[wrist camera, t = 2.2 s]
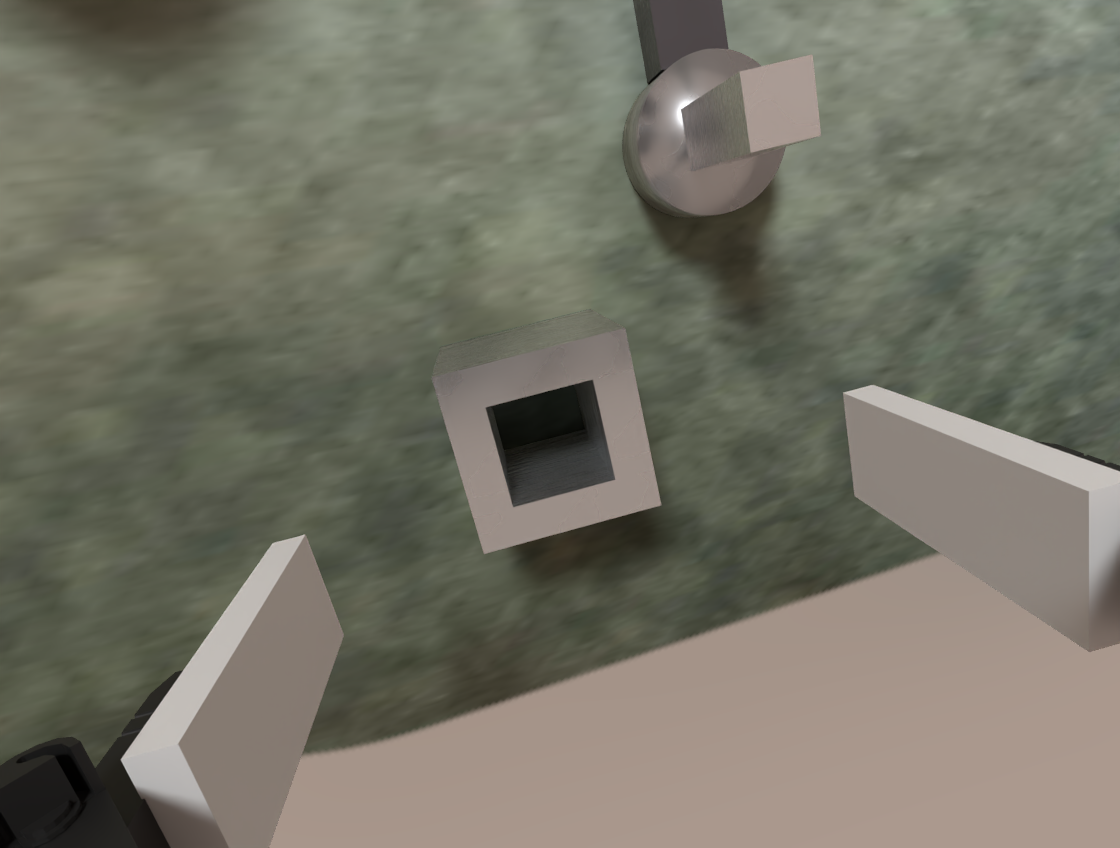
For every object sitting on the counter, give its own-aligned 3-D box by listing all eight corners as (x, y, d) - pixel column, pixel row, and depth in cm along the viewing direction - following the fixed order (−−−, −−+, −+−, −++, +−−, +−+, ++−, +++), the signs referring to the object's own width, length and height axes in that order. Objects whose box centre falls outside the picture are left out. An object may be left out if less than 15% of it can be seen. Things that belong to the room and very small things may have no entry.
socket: (481, 487, 27) (483, 553, 21) (440, 347, 25) (431, 377, 19) (621, 450, 27) (661, 505, 22) (590, 308, 26) (625, 327, 20)
